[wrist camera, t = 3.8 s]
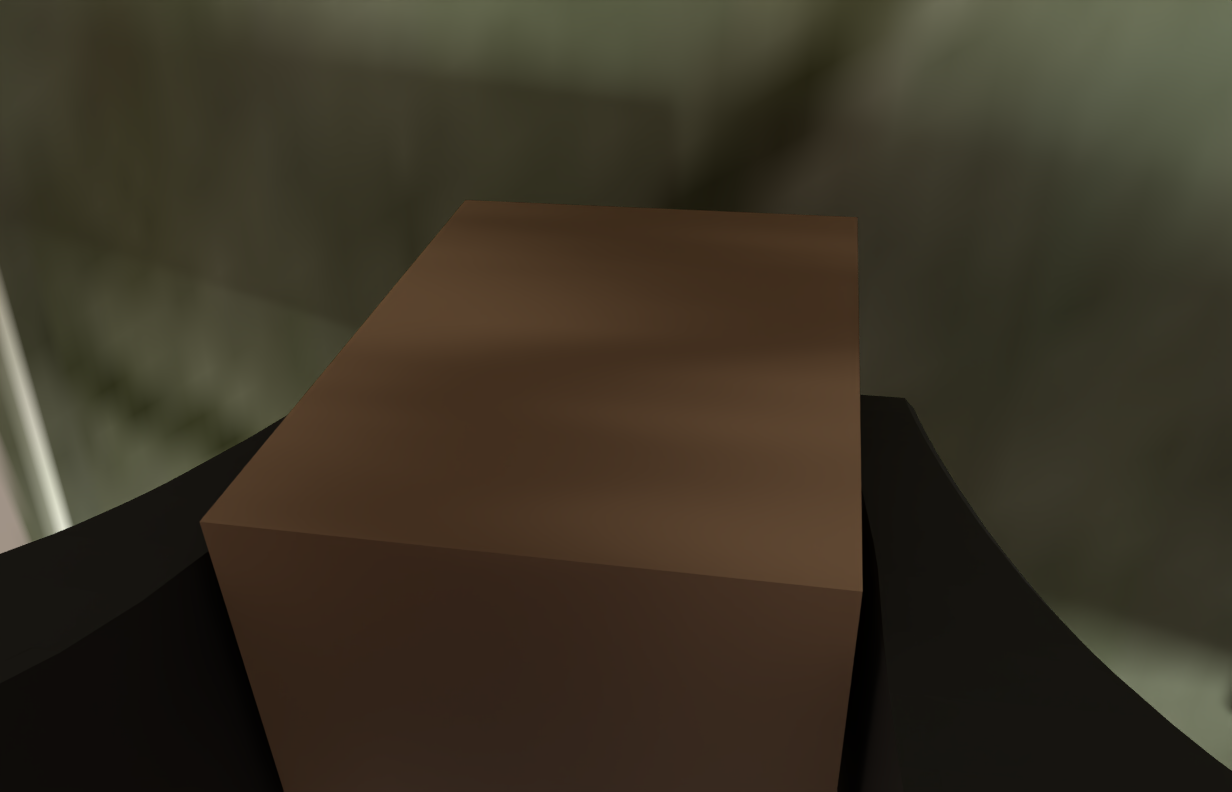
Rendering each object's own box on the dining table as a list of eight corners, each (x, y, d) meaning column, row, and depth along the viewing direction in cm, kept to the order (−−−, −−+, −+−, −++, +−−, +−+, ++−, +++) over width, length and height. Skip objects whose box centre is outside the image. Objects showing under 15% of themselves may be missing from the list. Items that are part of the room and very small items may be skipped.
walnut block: (857, 217, 11) (863, 591, 6) (825, 534, 14) (811, 985, 9) (465, 200, 12) (199, 522, 7) (499, 502, 15) (317, 900, 10)
